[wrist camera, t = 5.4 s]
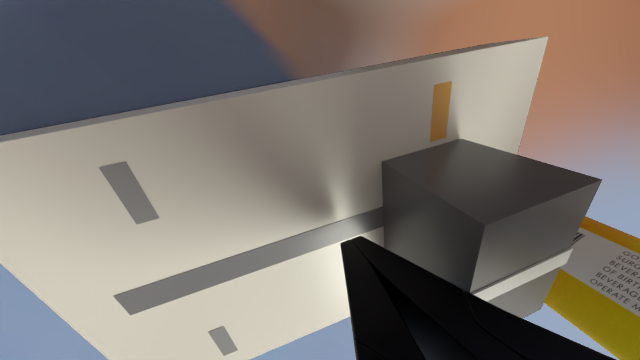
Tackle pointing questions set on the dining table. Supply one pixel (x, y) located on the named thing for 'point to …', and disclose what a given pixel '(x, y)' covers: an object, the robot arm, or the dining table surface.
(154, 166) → the fader console
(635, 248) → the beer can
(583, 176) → the fader cap
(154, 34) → the dining table surface
